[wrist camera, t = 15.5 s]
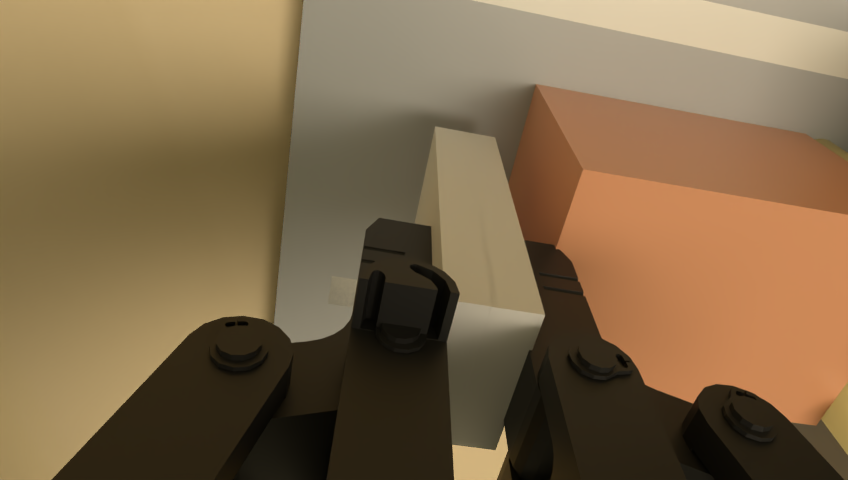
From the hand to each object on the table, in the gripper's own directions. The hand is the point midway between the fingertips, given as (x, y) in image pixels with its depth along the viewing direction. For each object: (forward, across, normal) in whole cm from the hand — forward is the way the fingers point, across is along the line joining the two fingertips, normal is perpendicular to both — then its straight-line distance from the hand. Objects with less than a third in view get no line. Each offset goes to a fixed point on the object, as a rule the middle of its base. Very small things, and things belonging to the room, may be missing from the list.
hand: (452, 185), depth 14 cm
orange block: (+2, +5, 0) cm, 5 cm away
